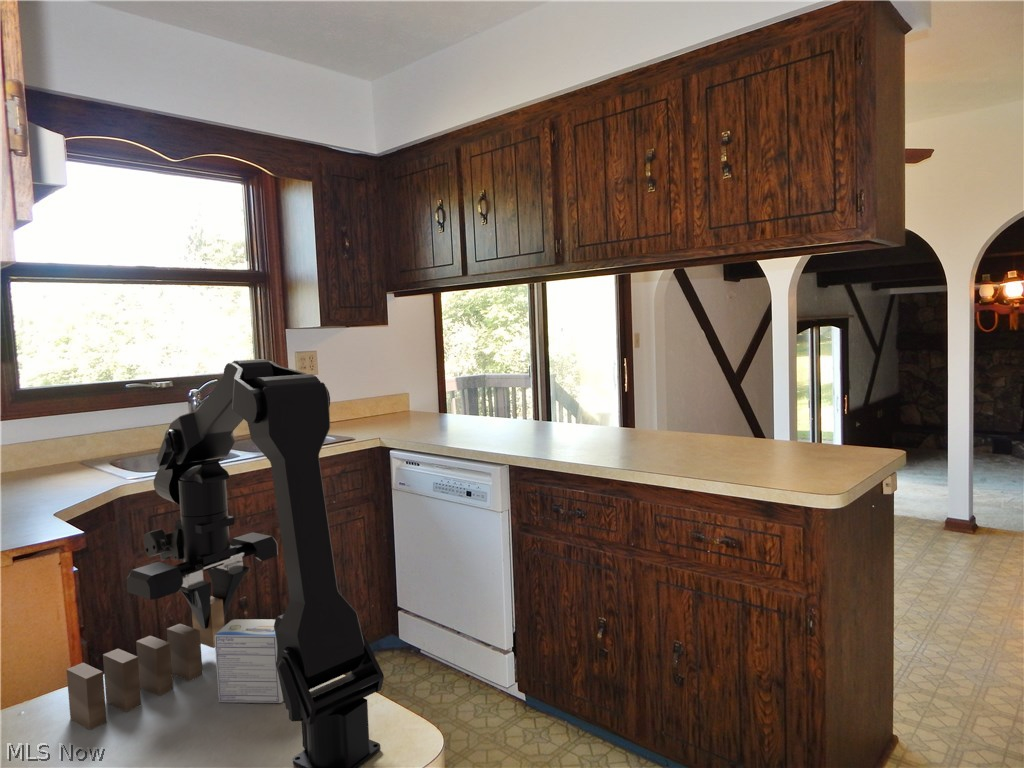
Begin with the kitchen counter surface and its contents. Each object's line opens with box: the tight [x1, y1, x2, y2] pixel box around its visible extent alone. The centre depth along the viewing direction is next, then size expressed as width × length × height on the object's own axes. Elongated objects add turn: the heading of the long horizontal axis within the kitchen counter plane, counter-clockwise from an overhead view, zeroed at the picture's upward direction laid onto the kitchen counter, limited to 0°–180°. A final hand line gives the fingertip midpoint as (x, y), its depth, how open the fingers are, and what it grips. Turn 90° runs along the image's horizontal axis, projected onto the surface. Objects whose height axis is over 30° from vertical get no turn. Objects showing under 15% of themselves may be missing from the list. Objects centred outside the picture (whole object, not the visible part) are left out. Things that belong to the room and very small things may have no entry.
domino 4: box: [166, 623, 204, 682], centre depth 87 cm, size 2×4×6 cm, turn 58°
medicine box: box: [214, 618, 284, 704], centre depth 81 cm, size 8×4×9 cm, turn 85°
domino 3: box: [135, 635, 174, 697], centre depth 84 cm, size 2×4×6 cm, turn 58°
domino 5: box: [191, 595, 225, 649], centre depth 91 cm, size 2×4×6 cm, turn 58°
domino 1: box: [66, 662, 107, 731], centre depth 77 cm, size 2×4×6 cm, turn 58°
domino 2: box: [102, 648, 142, 713], centre depth 80 cm, size 2×4×6 cm, turn 58°
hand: (211, 624), depth 90 cm, fingers closed on domino 5, 2 cm apart
